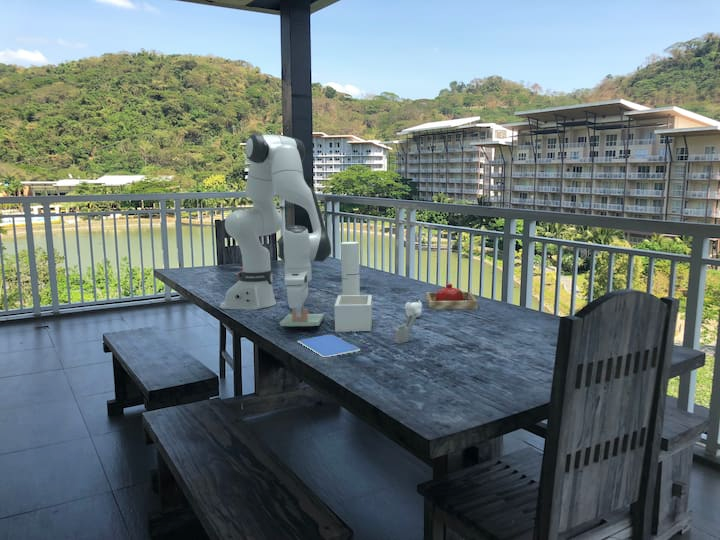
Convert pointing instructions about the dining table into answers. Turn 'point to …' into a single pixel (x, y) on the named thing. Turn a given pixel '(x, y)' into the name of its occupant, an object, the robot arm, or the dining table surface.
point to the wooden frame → (452, 302)
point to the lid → (302, 319)
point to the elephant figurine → (413, 308)
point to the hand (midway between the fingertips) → (299, 315)
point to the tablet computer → (328, 345)
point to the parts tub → (353, 313)
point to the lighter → (404, 330)
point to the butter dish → (449, 294)
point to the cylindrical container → (350, 268)
